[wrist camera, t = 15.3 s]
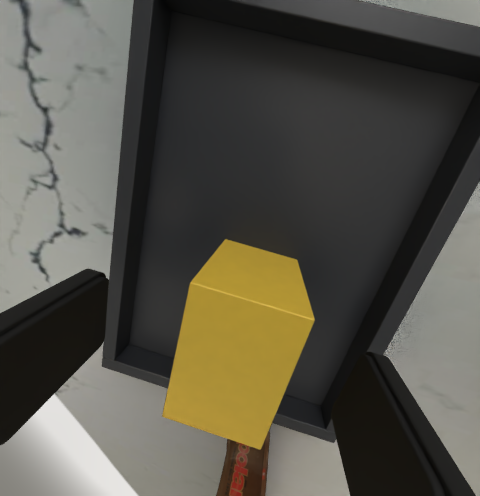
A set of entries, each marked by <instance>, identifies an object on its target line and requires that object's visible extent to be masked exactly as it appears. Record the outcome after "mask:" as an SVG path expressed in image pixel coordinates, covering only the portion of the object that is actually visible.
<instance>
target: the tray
mask: <svg viewBox="0 0 480 496" xmlns="http://www.w3.org/2000/svg"><path fill="white" fill-rule="evenodd" d="M479 181H480V27H477V26H473V25H468V24H464V23H459V22H455V21H450V20H445V19H441V18H436V17H432V16H427V15H423V14H418V13H413V12H409V11H404V10H400V9H395V8H391V7H386V6H382V5H377V4H372V3H368V2H363V1H359V0H134V4H133V15H132V27H131V38H130V49H129V61H128V72H127V84H126V95H125V106H124V118H123V129H122V141H121V152H120V163H119V175H118V186H117V197H116V209H115V220H114V232H113V243H112V254H111V266H110V277H109V289H108V302H107V316H106V330H105V339H104V346H103V359H102V367H105V368H108V369H111V370H114V371H117V372H120V373H123V374H126V375H129V376H132V377H135V378H138V379H141V380H144V381H147V382H150V383H153V384H156V385H159V386H162V387H165V388H168V386H169V381H170V376H171V372H172V367H173V362H174V357H175V352H176V348H177V343H178V338H179V333H180V328H181V324H182V319H183V314H184V309H185V305H186V300H187V295H188V290H189V285H190V282H191V281H192V280H193V279H194V277H195V276H196V275H197V274H198V272H199V271H200V270H201V269H202V267H203V266H204V265H205V264H206V262H207V261H208V260H209V259H210V258H211V256H212V255H213V254H214V253H215V251H216V250H217V249H218V248H219V246H220V245H221V244H222V243H223V241H224V240H225V239H227V240H230V241H234V242H237V243H241V244H244V245H248V246H251V247H255V248H258V249H262V250H265V251H269V252H272V253H276V254H279V255H283V256H286V257H290V258H293V259H297V261H298V264H299V268H300V271H301V274H302V278H303V281H304V285H305V288H306V291H307V295H308V298H309V302H310V305H311V309H312V312H313V315H314V319H315V321H314V323H313V326H312V328H311V331H310V333H309V335H308V338H307V340H306V343H305V345H304V347H303V350H302V352H301V355H300V357H299V359H298V362H297V364H296V366H295V369H294V371H293V374H292V376H291V378H290V381H289V383H288V386H287V388H286V390H285V393H284V395H283V398H282V400H281V402H280V405H279V407H278V410H277V412H276V414H275V417H274V419H273V421H272V423H274V424H277V425H281V426H284V427H287V428H290V429H293V430H296V431H299V432H302V433H305V434H308V435H311V436H314V437H317V438H320V439H323V440H326V441H329V442H332V443H334V442H335V440H336V435H335V430H334V426H333V422H332V418H331V411H332V407H333V405H334V403H335V401H336V399H337V397H338V396H339V394H340V392H341V390H342V388H343V386H344V384H345V383H346V381H347V379H348V377H349V375H350V373H351V371H352V370H353V368H354V366H355V364H356V362H357V360H358V358H359V357H360V355H362V354H366V353H367V352H373V353H376V354H380V355H383V354H384V352H385V350H386V349H387V347H388V345H389V343H390V341H391V340H392V338H393V336H394V334H395V332H396V331H397V329H398V327H399V325H400V323H401V322H402V320H403V318H404V316H405V314H406V313H407V311H408V309H409V307H410V305H411V304H412V302H413V300H414V298H415V296H416V295H417V293H418V291H419V289H420V287H421V286H422V284H423V282H424V280H425V278H426V277H427V275H428V273H429V271H430V269H431V268H432V266H433V264H434V262H435V260H436V259H437V257H438V255H439V253H440V251H441V250H442V248H443V246H444V244H445V242H446V241H447V239H448V237H449V235H450V233H451V232H452V230H453V228H454V226H455V224H456V223H457V221H458V219H459V217H460V215H461V214H462V212H463V210H464V208H465V206H466V204H467V203H468V201H469V199H470V197H471V195H472V194H473V192H474V190H475V188H476V186H477V185H478V183H479Z"/></svg>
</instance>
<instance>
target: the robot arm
mask: <svg viewBox="0 0 480 496" xmlns="http://www.w3.org/2000/svg"><path fill="white" fill-rule="evenodd" d="M108 288H109V280H108V279H107V278H106V276H105V274H104V273H102V272H98V271H95V270H91V269H85V270H83V271H81V272H79V273H77V274H75V275H73V276H71V277H70V278H68V279H66V280H64V281H62V282H60V283H58V284H56V285H54V286H52V287H50V288H48V289H46V290H44V291H43V292H41V293H39V294H37V295H35V296H33V297H31V298H29V299H27V300H25V301H23V302H21V303H19V304H18V305H16V306H14V307H12V308H10V309H8V310H6V311H4V312H2V313H0V445H2V444H4V443H5V442H7V441H8V440H9V439H10V438H11V437H12V436H13V435H14V434H15V433H16V432H17V431H18V430H19V429H20V428H21V427H22V426H23V425H24V424H25V423H26V422H27V421H28V419H30V418H31V417H32V416H33V415H34V414H35V413H36V412H37V411H38V410H39V409H40V407H42V405H43V404H44V403H45V402H46V401H47V400H48V399H49V398H50V397H51V396H52V395H53V394H54V393H55V392H56V391H57V390H58V389H59V388H60V387H61V386H62V385H63V384H64V383H65V382H66V381H67V380H68V379H69V378H70V377H71V376H72V375H73V374H74V373H75V372H76V371H77V370H78V369H79V368H80V367H81V366H82V365H83V364H84V363H85V362H86V361H87V360H88V359H89V358H90V357H91V356H92V355H93V354H94V353H95V352H96V351H97V350H98V349H99V347H100V346H101V345H102V343H103V341H104V339H105V330H106V316H107V302H108ZM331 418H332V422H333V426H334V430H335V435H336V439H337V443H338V447H339V451H340V455H341V459H342V463H343V467H344V471H345V475H346V479H347V483H348V488H349V492H350V496H476V495H475V494H474V492H473V491H472V489H471V487H470V486H469V484H468V483H467V481H466V480H465V478H464V476H463V475H462V473H461V472H460V470H459V468H458V467H457V465H456V464H455V462H454V461H453V459H452V457H451V456H450V454H449V453H448V451H447V450H446V448H445V446H444V445H443V443H442V442H441V440H440V438H439V437H438V435H437V434H436V432H435V431H434V429H433V427H432V426H431V424H430V423H429V421H428V420H427V418H426V416H425V415H424V413H423V412H422V410H421V408H420V407H419V405H418V404H417V402H416V401H415V399H414V397H413V396H412V394H411V393H410V391H409V389H408V388H407V386H406V385H405V383H404V382H403V380H402V378H401V377H400V375H399V374H398V372H397V371H396V369H395V367H394V366H393V364H392V363H391V361H390V360H389V358H388V357H386V356H383V355H380V354H376V353H373V352H367V353H366V354H362V355H360V357H359V358H358V360H357V362H356V364H355V366H354V368H353V370H352V371H351V373H350V375H349V377H348V379H347V381H346V383H345V384H344V386H343V388H342V390H341V392H340V394H339V396H338V397H337V399H336V401H335V403H334V405H333V407H332V411H331Z"/></svg>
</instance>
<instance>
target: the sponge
mask: <svg viewBox="0 0 480 496" xmlns="http://www.w3.org/2000/svg"><path fill="white" fill-rule="evenodd" d="M314 321H315V319H314V315H313V312H312V309H311V305H310V302H309V298H308V295H307V291H306V288H305V285H304V281H303V278H302V274H301V271H300V268H299V264H298V261H297V259H293V258H290V257H286V256H283V255H279V254H276V253H272V252H269V251H265V250H262V249H258V248H255V247H251V246H248V245H244V244H241V243H237V242H234V241H230V240H227V239H225V240H224V241H223V243H222V244H221V245H220V246H219V248H218V249H217V250H216V251H215V253H214V254H213V255H212V256H211V258H210V259H209V260H208V261H207V262H206V264H205V265H204V266H203V267H202V269H201V270H200V271H199V272H198V274H197V275H196V276H195V277H194V279H193V280H192V281H191V282H190V285H189V290H188V295H187V300H186V305H185V309H184V314H183V319H182V324H181V328H180V333H179V338H178V343H177V348H176V352H175V357H174V362H173V367H172V372H171V376H170V381H169V386H168V391H167V395H166V400H165V405H164V410H163V415H162V416H163V417H165V418H168V419H171V420H174V421H176V422H179V423H182V424H185V425H188V426H191V427H194V428H197V429H200V430H203V431H206V432H209V433H212V434H215V435H218V436H221V437H224V438H227V439H230V440H233V441H236V442H239V443H242V444H245V445H247V446H250V447H253V448H256V449H259V450H260V449H261V448H262V445H263V443H264V441H265V438H266V436H267V433H268V431H269V429H270V426H271V424H272V421H273V419H274V417H275V414H276V412H277V410H278V407H279V405H280V402H281V400H282V398H283V395H284V393H285V390H286V388H287V386H288V383H289V381H290V378H291V376H292V374H293V371H294V369H295V366H296V364H297V362H298V359H299V357H300V355H301V352H302V350H303V347H304V345H305V343H306V340H307V338H308V335H309V333H310V331H311V328H312V326H313V323H314Z"/></svg>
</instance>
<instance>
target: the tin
mask: <svg viewBox="0 0 480 496" xmlns="http://www.w3.org/2000/svg"><path fill="white" fill-rule="evenodd" d="M269 442H270V432H269V431H268V433H267V436H266V438H265V441H264V443H263V445H262V448H261V449H260V450H259V449H256V448H253V447H250V446H247V445H245V444H242V443H239V442H236V441H233V440H230V439H227V452H226V457H225V462H224V466H223V471H222V475H221V480H220V484H219V488H218V491H217V495H216V496H265V491H266V481H267V469H268V453H269Z"/></svg>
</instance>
